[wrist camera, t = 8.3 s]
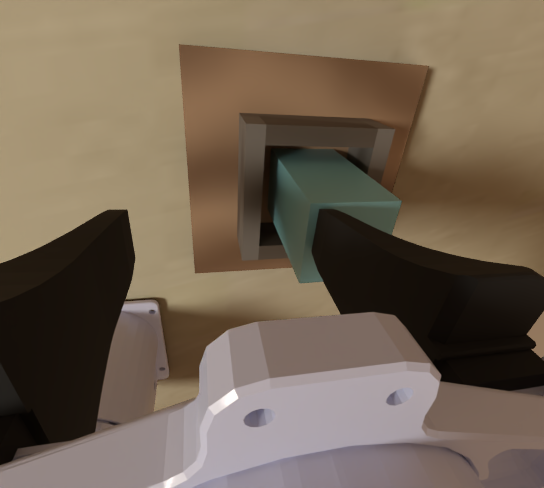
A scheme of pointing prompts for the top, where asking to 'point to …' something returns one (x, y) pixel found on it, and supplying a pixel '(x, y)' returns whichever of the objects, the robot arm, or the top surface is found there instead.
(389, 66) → the end holder
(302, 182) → the block
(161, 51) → the top surface
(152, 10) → the top surface
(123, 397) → the robot arm
